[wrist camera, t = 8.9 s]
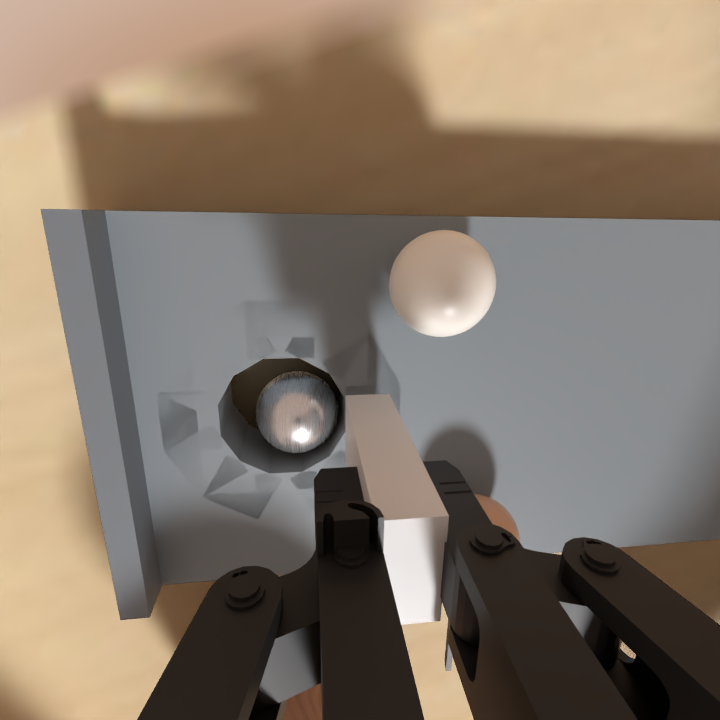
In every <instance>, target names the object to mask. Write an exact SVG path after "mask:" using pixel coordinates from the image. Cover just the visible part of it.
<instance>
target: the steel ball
mask: <svg viewBox="0 0 720 720" xmlns="http://www.w3.org/2000/svg"><path fill="white" fill-rule="evenodd" d="M337 418H338V404H337V400H336V397H335V395H334V393H333V391H332V389H331V388H330V387H329V385H328V384H327V383H326V382H325V381H324V380H322V379H321V378H320V377H318V376H316V375H314V374H312V373H308V372H303V371H292V372H287V373H284V374H281V375H279V376H277V377H275V378H274V379H273V380H271V381H270V382H269V383H268V384H267V385H266V386H265V387H264V389H263V390H262V392H261V394H260V396H259V398H258V401H257V405H256V420H257V424H258V427H259V430H260V432H261V433H262V435H263V436H264V438H265V439H266V440H267V441H268V442H269V443H270V444H271V445H273V446H274V447H276V448H278V449H280V450H282V451H285V452H290V453H303V452H307V451H310V450H313V449H315V448H317V447H319V446H320V445H321V444H323V443H324V442H325V441H326V440H327V439H328V438H329V436H330V435H331V434H332V432H333V430H334V428H335V426H336V422H337Z"/></svg>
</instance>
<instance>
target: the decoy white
mask: <svg viewBox="0 0 720 720" xmlns="http://www.w3.org/2000/svg"><path fill="white" fill-rule="evenodd" d="M495 290H496V273H495V269H494V266H493V263H492V260H491V258H490V256H489V254H488V253H487V252H486V250H485V249H484V248H483V247H482V246H481V245H480V244H479V243H478V242H477V241H476V240H474V239H473V238H471V237H470V236H468V235H465V234H463V233H460V232H456V231H452V230H437V231H432V232H428V233H425V234H422V235H420V236H418V237H417V238H415V239H414V240H412V241H411V242H410V243H408V244H407V245H406V246H405V247H404V248H403V249H402V251H401V252H400V253H399V255H398V256H397V258H396V259H395V261H394V263H393V266H392V269H391V273H390V278H389V292H390V298H391V301H392V304H393V306H394V309H395V310H396V312H397V314H398V315H399V317H400V318H401V319H402V320H403V321H404V322H405V323H406V324H407V325H408V326H410V327H411V328H413V329H414V330H416V331H418V332H420V333H422V334H425V335H429V336H434V337H448V336H453V335H457V334H460V333H463V332H465V331H467V330H469V329H470V328H472V327H473V326H474V325H476V324H477V323H478V322H479V321H480V320H481V319H482V318H483V317H484V315H485V314H486V313H487V311H488V309H489V308H490V306H491V304H492V301H493V298H494V295H495Z"/></svg>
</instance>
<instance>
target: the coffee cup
mask: <svg viewBox="0 0 720 720" xmlns="http://www.w3.org/2000/svg"><path fill="white" fill-rule="evenodd" d="M283 720H322V704H321V683H320V684H318V685H316V686H314V687H312V688H309V689H307V690H305V691H303V692H301V693H299V694H297V695H295V696H293V697H291V698H289V699H287V705H286V709H285V713H284V717H283Z"/></svg>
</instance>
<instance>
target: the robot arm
mask: <svg viewBox="0 0 720 720" xmlns="http://www.w3.org/2000/svg"><path fill="white" fill-rule="evenodd" d="M314 511H315V542H316V549H315V552H314V554H313V556H312V557H311V559H310V560H309V561H308V562H307V563H306V564H305V565H303V566H302V567H301V568H299V569H297V570H295V571H293V572H291V573H289V574H286V575H283V576H280V577H278V575H276V574H275V573H274V572H272V571H271V570H270V569H268V568H264V567H260V566H243V567H240V568H237V569H234V570H231V571H229V572H227V573H226V574H224V575H223V576H221V577H220V578H218V579H217V581H216V582H215V583H214V584H213V585H212V587H211V588H210V589H209V591H208V593H207V594H206V596H205V598H204V600H203V602H202V603H201V605H200V607H199V609H198V611H197V613H196V614H195V616H194V618H193V620H192V622H191V623H190V625H189V627H188V629H187V631H186V632H185V634H184V636H183V638H182V640H181V641H180V643H179V645H178V647H177V649H176V650H175V652H174V654H173V656H172V658H171V660H170V661H169V663H168V665H167V667H166V669H165V670H164V672H163V674H162V676H161V678H160V679H159V681H158V683H157V685H156V687H155V688H154V690H153V692H152V694H151V696H150V697H149V699H148V701H147V703H146V705H145V707H144V708H143V710H142V712H141V714H140V716H139V717H138V719H137V720H283V717H284V713H285V709H286V705H287V699H289V698H291V697H293V696H295V695H297V694H299V693H301V692H303V691H305V690H307V689H309V688H312V687H314V686H316V685H318V684H320V683H321V704H322V720H424V717H423V713H422V708H421V704H420V700H419V696H418V692H417V688H416V684H415V680H414V676H413V672H412V667H411V663H410V659H409V655H408V651H407V647H406V643H405V639H404V635H403V631H402V626H401V625H403V624H413V623H423V622H433V621H440V617H441V605H442V603H443V605H444V608H445V611H446V614H447V617H448V629H447V640H446V651H445V668H446V671H450V670H451V665H452V656H453V659H454V662H455V665H456V668H457V671H458V674H459V676H460V679H461V682H462V685H463V688H464V691H465V694H466V697H467V700H468V703H469V706H470V709H471V712H472V715H473V718H474V720H720V625H719V624H718V623H716V622H715V621H714V620H712V619H711V618H710V617H708V616H707V615H706V614H704V613H703V612H702V611H701V610H699V609H698V608H697V607H695V606H694V605H693V604H691V603H690V602H689V601H687V600H686V599H685V598H683V597H682V596H681V595H680V594H678V593H677V592H676V591H674V590H673V589H672V588H670V587H669V586H668V585H666V584H665V583H664V582H663V581H661V580H660V579H659V578H657V577H656V576H655V575H653V574H652V573H651V572H649V571H648V570H647V569H646V568H644V567H643V566H642V565H640V564H639V563H638V562H636V561H635V560H634V559H632V558H631V557H630V556H629V555H627V554H626V553H625V552H623V551H621V550H620V549H618V548H617V547H615V546H613V545H612V544H609V543H606V542H604V541H601V540H598V539H593V538H586V537H581V538H573V539H571V540H569V541H568V542H566V543H565V545H564V547H563V550H562V555H557V554H551V553H545V552H538V551H533V550H529V549H525V548H523V546H522V545H521V543H520V542H519V541H518V539H517V538H516V537H515V536H514V535H513V534H512V533H511V532H509V531H507V530H505V529H504V528H502V527H500V526H496V525H493V524H492V522H491V521H490V519H489V518H488V516H487V514H486V513H485V511H484V509H483V508H482V506H481V505H480V503H479V501H478V500H477V498H476V497H475V495H474V493H472V490H471V488H470V487H469V485H468V484H467V483H466V480H465V479H464V477H463V476H462V474H461V472H460V471H459V469H457V468H456V467H454V466H453V465H452V464H450V463H449V462H447V461H446V460H442V461H424V462H422V460H421V458H420V456H419V454H418V452H417V450H416V448H415V445H414V443H413V441H412V439H411V437H410V435H409V433H408V431H407V429H406V427H405V425H404V423H403V421H402V419H401V417H400V415H399V413H398V411H397V409H396V407H395V405H394V403H393V401H392V399H391V396H390V394H370V395H345V467H341V468H323V469H320V471H319V472H318V474H317V475H316V477H315V478H314ZM622 641H623V642H624V643H625V644H626V645H627V646H628V647H629V648H630V649H631V650H632V651H633V652H634V653H635V654H636V658H635V659H633V658H630V657H629V656H628V655H626V654H625V653H624V652H623V651H622V650H621V649H620V647H621V643H622Z"/></svg>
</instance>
